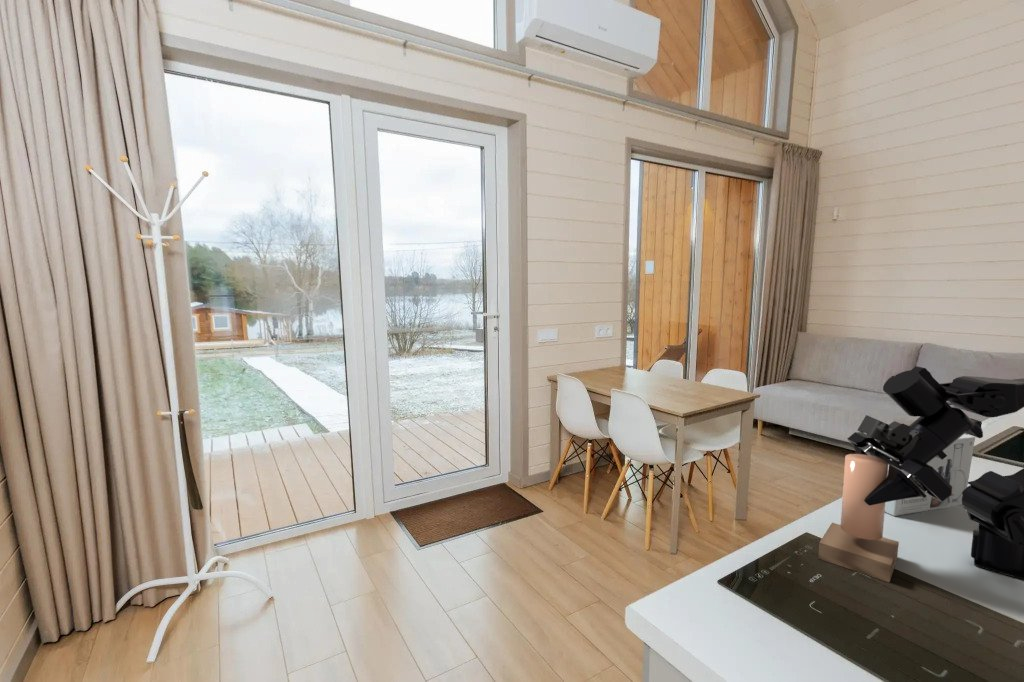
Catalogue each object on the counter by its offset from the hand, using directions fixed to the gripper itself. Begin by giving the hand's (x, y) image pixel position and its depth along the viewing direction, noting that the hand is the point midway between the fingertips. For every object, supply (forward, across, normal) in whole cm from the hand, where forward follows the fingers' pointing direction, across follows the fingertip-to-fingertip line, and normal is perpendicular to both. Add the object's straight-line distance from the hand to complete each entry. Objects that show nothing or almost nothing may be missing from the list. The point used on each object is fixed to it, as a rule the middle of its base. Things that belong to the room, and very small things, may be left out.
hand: (855, 494), depth 84 cm
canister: (+4, 0, +6) cm, 7 cm away
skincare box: (-10, -23, +28) cm, 37 cm away
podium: (+7, 0, +9) cm, 12 cm away
